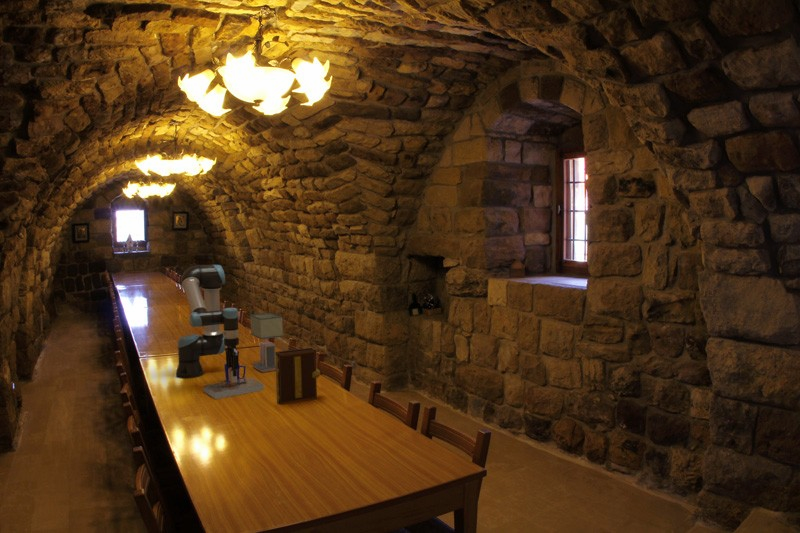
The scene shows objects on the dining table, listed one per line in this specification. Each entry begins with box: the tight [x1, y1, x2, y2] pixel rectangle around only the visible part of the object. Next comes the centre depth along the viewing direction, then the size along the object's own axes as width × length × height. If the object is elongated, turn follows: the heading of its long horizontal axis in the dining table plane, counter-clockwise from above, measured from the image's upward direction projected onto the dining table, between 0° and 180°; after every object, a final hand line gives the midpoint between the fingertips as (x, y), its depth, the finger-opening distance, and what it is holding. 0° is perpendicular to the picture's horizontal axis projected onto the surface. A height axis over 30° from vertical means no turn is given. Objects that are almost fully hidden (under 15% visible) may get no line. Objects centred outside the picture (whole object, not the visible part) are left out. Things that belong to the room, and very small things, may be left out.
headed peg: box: [229, 367, 235, 387], centre depth 314 cm, size 5×5×12 cm
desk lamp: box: [249, 312, 284, 373], centre depth 361 cm, size 18×14×33 cm
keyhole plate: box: [203, 376, 265, 400], centre depth 315 cm, size 26×17×3 cm, turn 128°
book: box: [275, 347, 321, 405], centre depth 296 cm, size 22×8×25 cm, turn 117°
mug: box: [224, 363, 247, 382], centre depth 333 cm, size 8×12×10 cm
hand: (232, 381), depth 314 cm, fingers closed on headed peg, 3 cm apart
